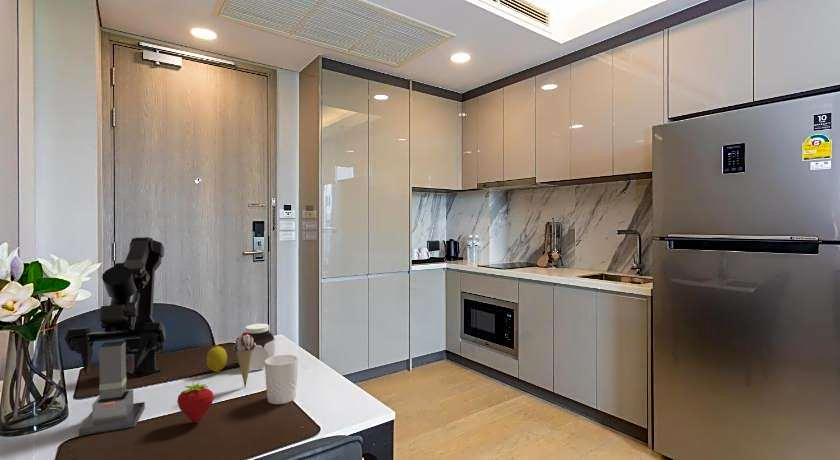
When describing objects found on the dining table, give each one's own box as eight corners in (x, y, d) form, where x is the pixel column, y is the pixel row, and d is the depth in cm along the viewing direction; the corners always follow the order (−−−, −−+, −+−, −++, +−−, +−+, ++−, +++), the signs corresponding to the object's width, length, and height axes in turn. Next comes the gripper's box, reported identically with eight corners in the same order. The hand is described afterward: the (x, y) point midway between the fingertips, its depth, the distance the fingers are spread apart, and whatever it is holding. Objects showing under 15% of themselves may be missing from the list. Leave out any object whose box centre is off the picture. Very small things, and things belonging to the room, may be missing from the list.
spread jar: (264, 356, 142) (263, 321, 141) (285, 363, 135) (285, 326, 135) (229, 366, 132) (229, 329, 132) (251, 374, 125) (250, 334, 125)
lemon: (219, 376, 124) (219, 349, 123) (202, 375, 125) (202, 347, 124) (231, 370, 129) (231, 343, 129) (215, 368, 130) (214, 342, 130)
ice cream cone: (261, 385, 117) (260, 330, 117) (244, 393, 112) (243, 336, 111) (245, 382, 119) (245, 328, 119) (228, 389, 114) (228, 333, 114)
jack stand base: (94, 415, 99) (93, 391, 99) (144, 408, 103) (144, 385, 103) (78, 435, 90) (78, 409, 90) (135, 426, 94) (134, 401, 94)
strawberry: (206, 429, 93) (205, 383, 92) (171, 429, 93) (170, 383, 92) (219, 416, 99) (218, 373, 98) (186, 416, 99) (186, 373, 98)
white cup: (304, 395, 111) (303, 356, 111) (285, 407, 103) (284, 366, 103) (278, 391, 113) (278, 353, 113) (258, 403, 106) (257, 362, 106)
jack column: (105, 392, 97) (104, 342, 97) (126, 389, 99) (125, 340, 99) (99, 399, 94) (98, 347, 93) (122, 396, 95) (121, 345, 95)
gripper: (66, 293, 96) (46, 356, 86) (163, 287, 103) (155, 346, 93) (79, 320, 103) (62, 382, 93) (168, 313, 110) (161, 370, 101)
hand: (111, 369), depth 95 cm, fingers open, 9 cm apart
